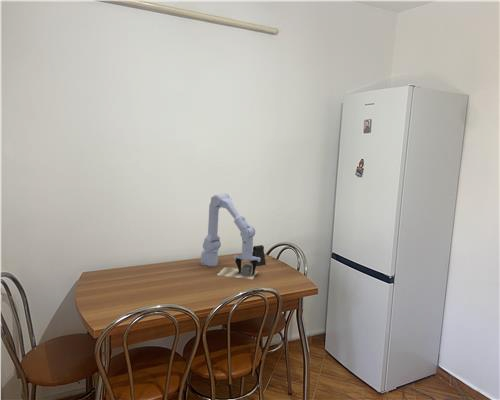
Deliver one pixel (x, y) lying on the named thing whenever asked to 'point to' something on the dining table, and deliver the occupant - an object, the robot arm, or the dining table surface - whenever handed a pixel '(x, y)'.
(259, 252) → the door stopper
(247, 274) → the block
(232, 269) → the board
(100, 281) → the dining table surface
